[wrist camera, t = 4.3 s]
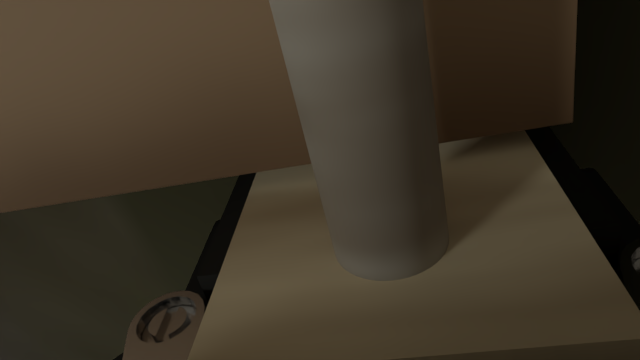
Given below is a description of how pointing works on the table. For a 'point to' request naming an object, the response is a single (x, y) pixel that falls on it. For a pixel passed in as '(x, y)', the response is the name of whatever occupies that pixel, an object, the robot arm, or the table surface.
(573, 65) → the board
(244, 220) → the mallet
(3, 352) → the table surface
